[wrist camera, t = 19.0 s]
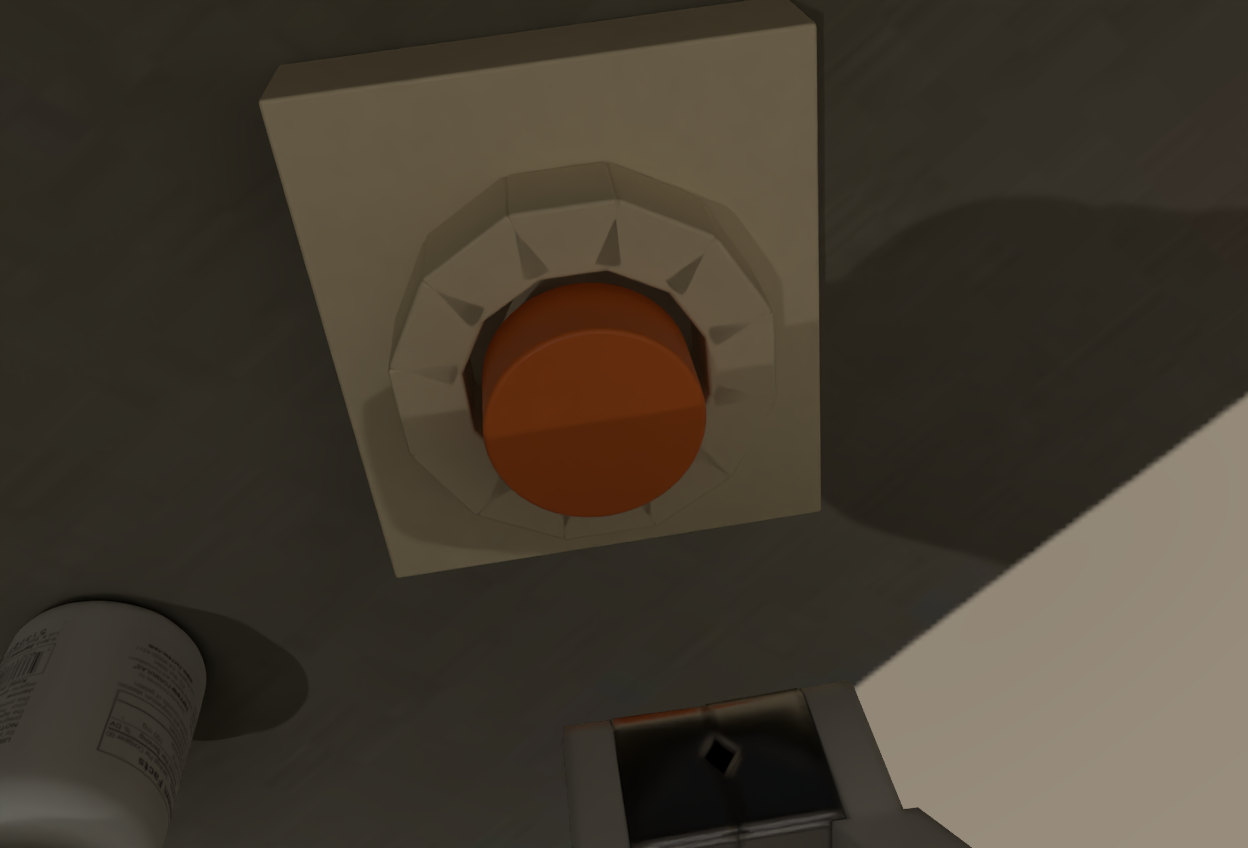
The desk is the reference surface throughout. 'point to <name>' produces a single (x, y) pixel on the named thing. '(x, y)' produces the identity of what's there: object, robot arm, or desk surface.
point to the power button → (591, 401)
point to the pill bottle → (95, 726)
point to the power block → (563, 252)
